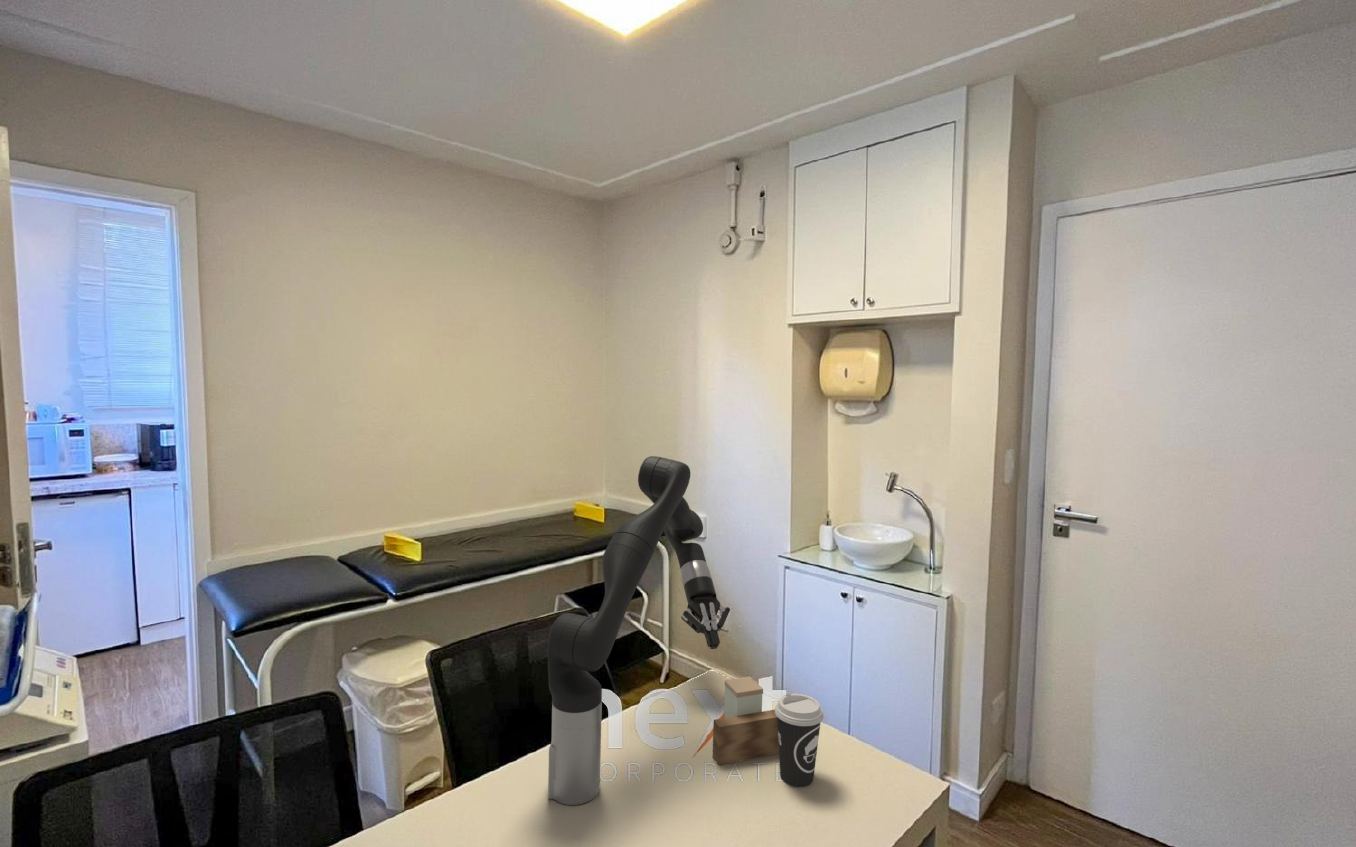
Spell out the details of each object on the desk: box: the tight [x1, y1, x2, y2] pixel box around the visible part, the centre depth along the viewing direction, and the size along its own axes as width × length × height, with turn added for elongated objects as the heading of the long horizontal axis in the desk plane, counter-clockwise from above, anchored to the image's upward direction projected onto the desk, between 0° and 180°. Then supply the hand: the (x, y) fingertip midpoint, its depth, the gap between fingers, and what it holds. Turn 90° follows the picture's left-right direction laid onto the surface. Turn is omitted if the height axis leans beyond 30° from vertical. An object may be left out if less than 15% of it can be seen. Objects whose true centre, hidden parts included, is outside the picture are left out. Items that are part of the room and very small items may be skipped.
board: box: [712, 709, 779, 766], centre depth 131 cm, size 16×3×8 cm, turn 110°
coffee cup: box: [773, 693, 825, 788], centre depth 124 cm, size 10×10×15 cm
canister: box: [723, 676, 764, 718], centre depth 136 cm, size 6×6×13 cm
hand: (714, 647), depth 149 cm, fingers closed
